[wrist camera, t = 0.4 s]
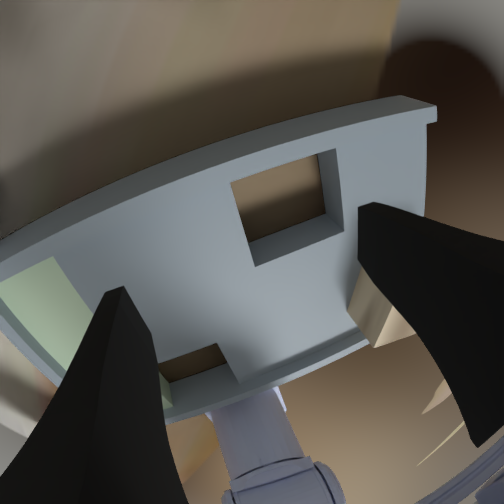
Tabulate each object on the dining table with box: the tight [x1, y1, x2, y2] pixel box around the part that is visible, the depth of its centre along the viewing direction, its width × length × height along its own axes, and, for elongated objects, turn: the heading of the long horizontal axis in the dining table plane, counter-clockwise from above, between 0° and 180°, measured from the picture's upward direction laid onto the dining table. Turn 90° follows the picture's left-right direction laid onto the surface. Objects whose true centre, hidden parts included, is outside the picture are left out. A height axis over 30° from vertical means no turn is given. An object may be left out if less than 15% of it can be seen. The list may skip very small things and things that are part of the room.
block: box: [347, 266, 416, 348], centre depth 22 cm, size 5×5×4 cm
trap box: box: [0, 95, 437, 425], centre depth 21 cm, size 19×29×4 cm, turn 104°
